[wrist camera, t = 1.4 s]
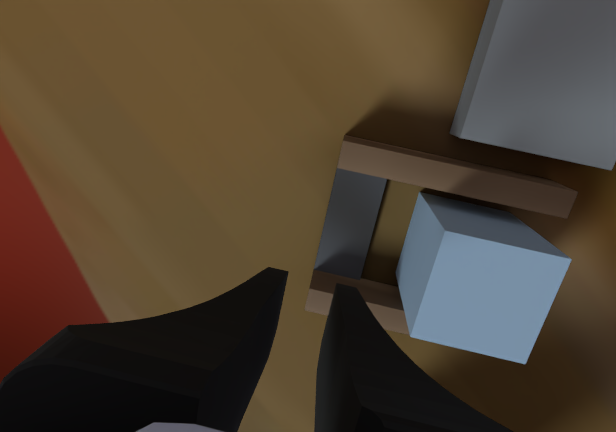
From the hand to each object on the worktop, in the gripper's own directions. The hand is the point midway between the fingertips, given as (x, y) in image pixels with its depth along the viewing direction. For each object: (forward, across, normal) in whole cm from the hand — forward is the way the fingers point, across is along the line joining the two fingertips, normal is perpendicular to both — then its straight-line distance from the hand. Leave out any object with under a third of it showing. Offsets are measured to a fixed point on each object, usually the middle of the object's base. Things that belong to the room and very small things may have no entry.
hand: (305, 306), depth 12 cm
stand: (+9, -8, -8) cm, 15 cm away
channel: (+9, -5, 0) cm, 11 cm away
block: (+10, -6, 0) cm, 12 cm away
